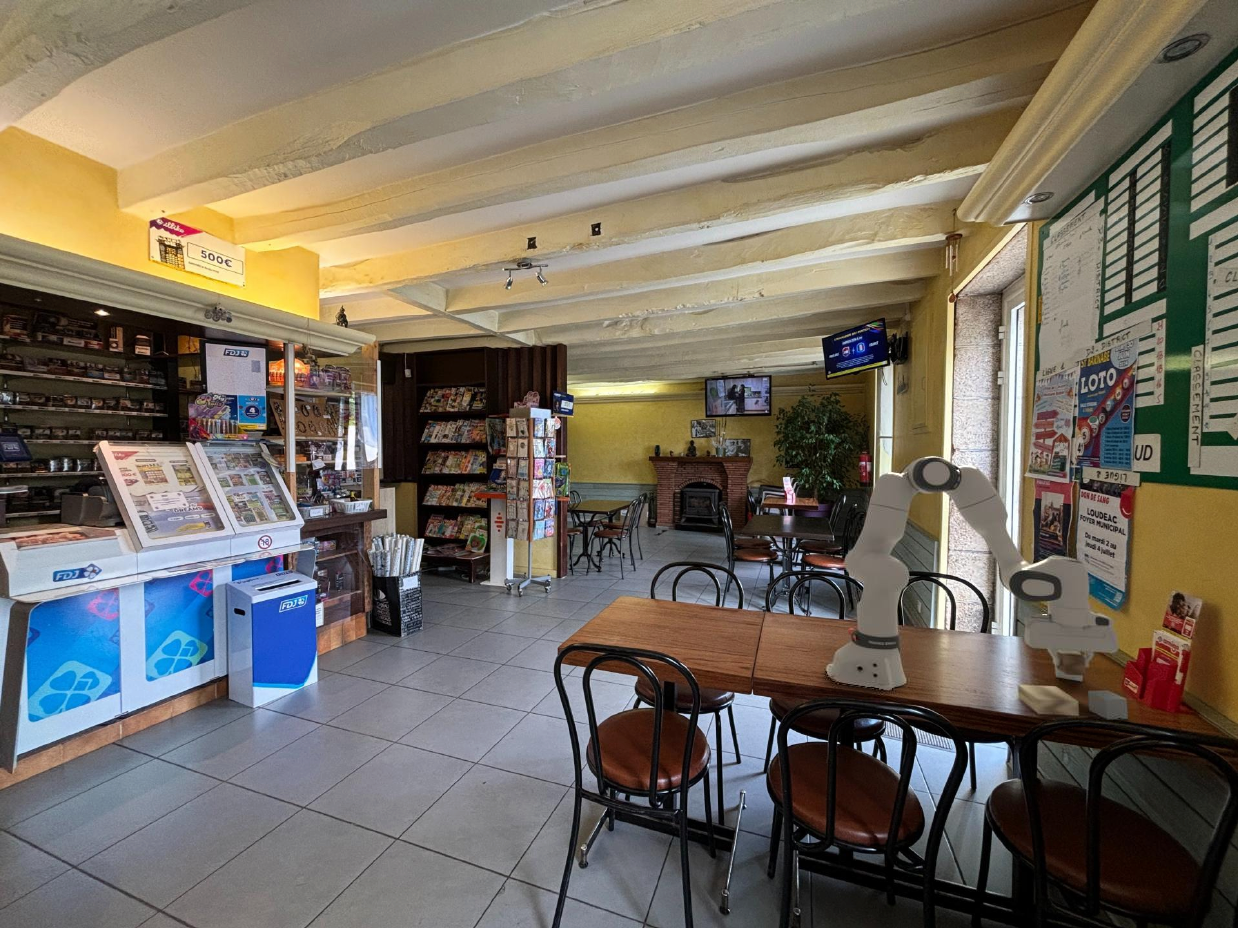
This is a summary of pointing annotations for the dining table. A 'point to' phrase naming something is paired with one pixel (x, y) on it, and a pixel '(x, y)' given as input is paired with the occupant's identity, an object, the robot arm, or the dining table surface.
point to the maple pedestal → (1048, 700)
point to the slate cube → (1108, 704)
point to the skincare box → (1062, 675)
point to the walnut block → (1071, 663)
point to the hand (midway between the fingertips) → (1070, 665)
